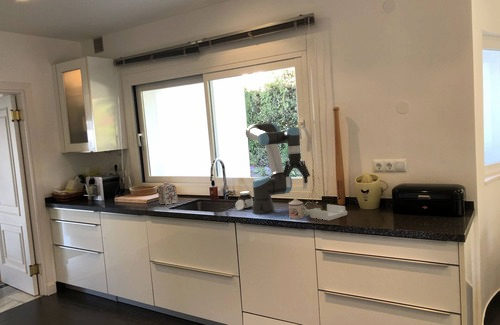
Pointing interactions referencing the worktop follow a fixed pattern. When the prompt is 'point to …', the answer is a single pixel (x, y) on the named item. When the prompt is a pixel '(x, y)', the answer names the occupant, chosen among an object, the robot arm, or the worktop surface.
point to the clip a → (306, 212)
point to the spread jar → (244, 201)
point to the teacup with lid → (296, 209)
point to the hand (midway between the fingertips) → (296, 187)
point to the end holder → (329, 212)
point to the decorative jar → (167, 193)
